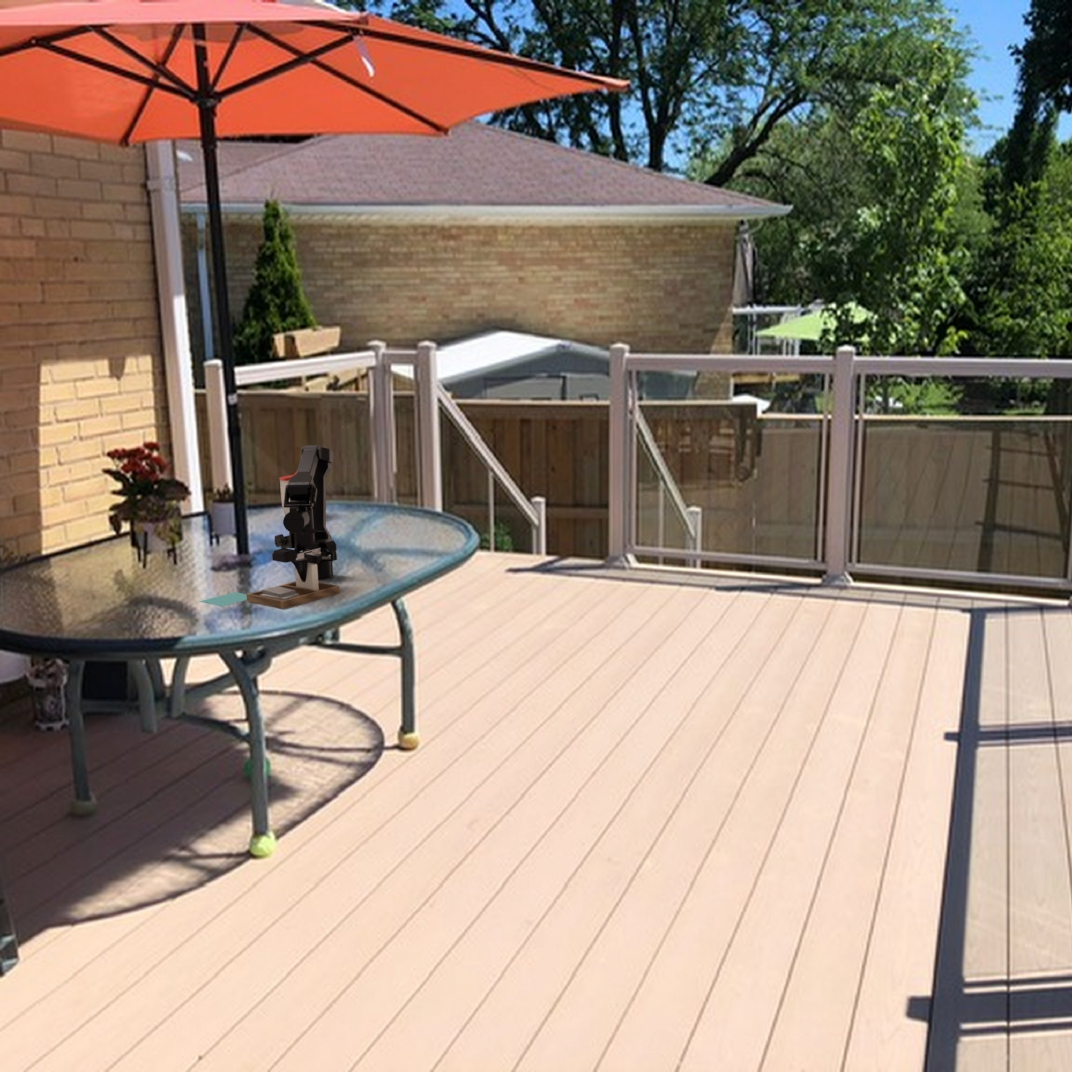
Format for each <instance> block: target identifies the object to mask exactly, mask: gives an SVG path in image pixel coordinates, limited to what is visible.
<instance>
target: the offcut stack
mask: <svg viewBox="0 0 1072 1072" xmlns="http://www.w3.org/2000/svg"><path fill="white" fill-rule="evenodd" d="M279 586H280V585H276V586H273V587H268V588H264V589H261V590H262V593H263V594H261V595H260V596H264V597H269V598H274V599H279V600H287V599H290V598H294V597H297V596H299V594H296V593H295V590H292V589H287V588H283V587H279Z"/></svg>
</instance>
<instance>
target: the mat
mask: <svg viewBox="0 0 1072 1072" xmlns="http://www.w3.org/2000/svg"><path fill="white" fill-rule="evenodd" d="M244 601H245V602H246V601H247V596H246V593H242V592H237V591H235V592H234V591H233V592H229V593H226V594H223V595H222V594H221V595H218V596H215V597H211V598H207V599H204V600H199V602H200V603H204V604H209V605H214V606H218V607H225V606H226V607H227V606H230V605H233V604H237V603H240V602H244Z"/></svg>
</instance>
